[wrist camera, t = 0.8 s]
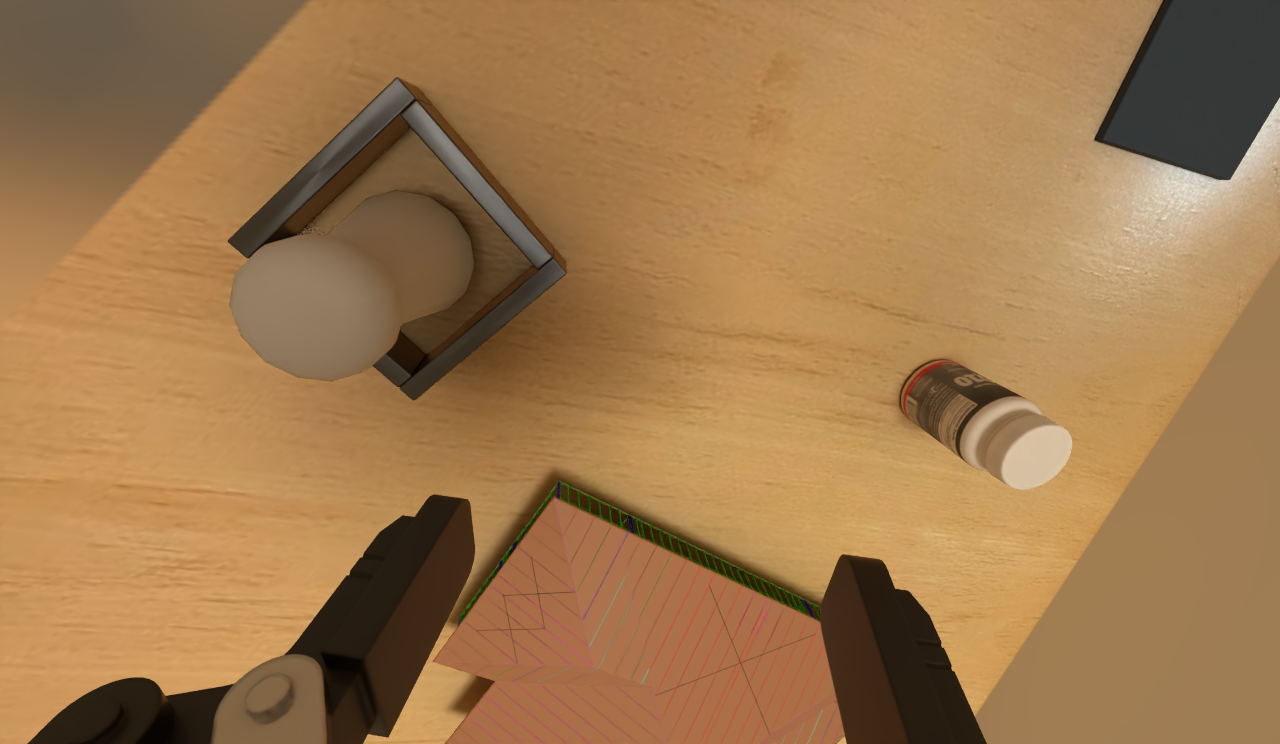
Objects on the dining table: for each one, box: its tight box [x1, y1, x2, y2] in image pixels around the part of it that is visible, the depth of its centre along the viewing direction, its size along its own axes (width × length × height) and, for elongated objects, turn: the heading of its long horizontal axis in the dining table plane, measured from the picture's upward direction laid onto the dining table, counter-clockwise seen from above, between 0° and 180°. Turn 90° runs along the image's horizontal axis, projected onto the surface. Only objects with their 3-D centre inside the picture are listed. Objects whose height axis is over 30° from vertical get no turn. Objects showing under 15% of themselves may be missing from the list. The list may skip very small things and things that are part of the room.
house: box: [433, 481, 845, 744], centre depth 36 cm, size 23×33×8 cm
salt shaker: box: [229, 190, 474, 381], centre depth 20 cm, size 6×6×13 cm
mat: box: [1095, 0, 1280, 180], centre depth 27 cm, size 10×10×1 cm
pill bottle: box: [901, 360, 1072, 490], centre depth 30 cm, size 5×5×8 cm
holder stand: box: [228, 77, 567, 400], centre depth 24 cm, size 10×10×3 cm
